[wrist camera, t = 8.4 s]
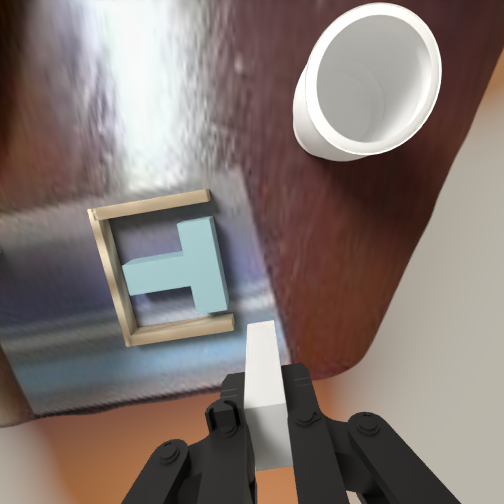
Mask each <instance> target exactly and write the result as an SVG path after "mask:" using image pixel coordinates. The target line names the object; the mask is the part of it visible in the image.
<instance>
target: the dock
mask: <svg viewBox="0 0 504 504" xmlns="http://www.w3.org/2000/svg"><path fill="white" fill-rule="evenodd" d="M208 201H211V198H210V193H209V189H203V190H198V191H192V192H186V193H180V194H175V195H169V196H163V197H157V198H152V199H146V200H140V201H134V202H129V203H123V204H117V205H111V206H106V207H100V208H94V209H88V210H87V211H88V214H89V218H90V221H91V225H92V228H93V232H94V235H95V239H96V242H97V246H98V249H99V253H100V256H101V260H102V263H103V267H104V270H105V274H106V277H107V281H108V284H109V288H110V291H111V295H112V298H113V302H114V305H115V309H116V312H117V316H118V319H119V323H120V326H121V330H122V333H123V337H124V340H125V344H126V347H130V346H136V345H143V344H149V343H156V342H162V341H169V340H175V339H182V338H188V337H195V336H201V335H208V334H215V333H221V332H228V331H234V325H235V320H234V315H233V313H228V314H221V315H215V316H209V317H202V318H196V319H189V320H183V321H177V322H170V323H164V324H157V325H151V326H144V327H137V323H136V320H135V316H134V312H133V309H132V305H131V301H130V298H129V294H128V290H127V287H126V283H125V279H124V276H123V272H122V268H121V265H120V261H119V257H118V254H117V250H116V246H115V243H114V239H113V235H112V232H111V228H110V225H109V221H108V219H109V218H115V217H120V216H126V215H132V214H138V213H144V212H149V211H155V210H161V209H167V208H173V207H178V206H184V205H190V204H196V203H202V202H208Z"/></svg>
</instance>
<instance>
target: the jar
mask: <svg viewBox="0 0 504 504" xmlns="http://www.w3.org/2000/svg"><path fill="white" fill-rule="evenodd" d="M440 83H441V58H440V53H439V49H438V46H437V43H436V40H435V38H434V36H433V34H432V32H431V31H430V29H429V28H428V26H427V25H426V24H425V23H424V22H423V21H422V20H421V19H420V18H419V17H418V16H417V15H416V14H414V13H413V12H411V11H410V10H408V9H406V8H404V7H401V6H398V5H395V4H390V3H371V4H366V5H362V6H359V7H356V8H354V9H352V10H350V11H348V12H346V13H345V14H343V15H341V16H340V17H339V18H337V19H336V20H335V21H334V22H333V23H332V24H331V25H330V26H329V27H328V28H327V29H326V30H325V31H324V33H323V34H322V35H321V37H320V38H319V40H318V41H317V43H316V45H315V47H314V48H313V50H312V53H311V55H310V57H309V60H308V63H307V65H306V67H305V69H304V71H303V73H302V75H301V77H300V79H299V82H298V84H297V87H296V91H295V95H294V102H293V117H294V119H293V127H294V133H295V136H296V139H297V141H298V142H299V144H300V145H301V147H302V148H303V149H304V150H305V151H307V152H308V153H310V154H312V155H314V156H317V157H322V158H325V159H328V160H333V161H351V160H356V159H360V158H363V157H366V156H368V155H373V154H379V153H383V152H386V151H389V150H391V149H394V148H396V147H397V146H399V145H401V144H403V143H404V142H405V141H407V140H408V139H409V138H411V137H412V136H413V135H414V134H415V133H416V132H417V131H418V130H419V129H420V128H421V126H422V125H423V124H424V122H425V121H426V120H427V118H428V116H429V115H430V113H431V111H432V109H433V107H434V105H435V102H436V99H437V96H438V93H439V89H440Z"/></svg>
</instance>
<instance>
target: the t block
mask: <svg viewBox="0 0 504 504" xmlns="http://www.w3.org/2000/svg"><path fill="white" fill-rule="evenodd" d="M177 227H178V231H179V236H180V240H181V245H182V249H183V251H180V252H174V253H168V254H162V255H156V256H150V257H144V258H138V259H133V260H131V261H129V262H128V263H126V264H124V265H123V266H122V268H123V272H124V276H125V279H126V283H127V287H128V290H129V294H130V296H131V295H137V294H143V293H150V292H156V291H162V290H168V289H174V288H181V287H187V286H191V289H192V294H193V298H194V302H195V307H196V311H197V315H198V314H205V313H211V312H217V311H224V310H227V309H228V305H229V295H228V290H227V285H226V280H225V275H224V270H223V265H222V259H221V254H220V249H219V244H218V239H217V234H216V229H215V224H214V219H213V216H209V217H204V218H198V219H192V220H186V221H182V222H180V223H178V224H177Z"/></svg>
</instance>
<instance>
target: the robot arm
mask: <svg viewBox="0 0 504 504" xmlns="http://www.w3.org/2000/svg"><path fill="white" fill-rule="evenodd" d="M205 416H206V421H207V425H208V429H209V435H208V436H207V437H206V438H204V439H203V440H201V441H199V442H197V443H194V444H192V445H190V446H187V444H186V443H185V442H184V441H183V440H180V439H173V440H169V441H167V442H165V443H163V444H161V445H160V446H159V447H157V449H156V450H155V451H154V452H153V453H152V455H151V457H150V458H149V460H148V461H147V463H146V464H145V466H144V468H143V470H142V471H141V473H140V474H139V476H138V477H137V479H136V481H135V482H134V484H133V486H132V487H131V489H130V490H129V492H128V493H127V495H126V497H125V498H124V500H123V501H122V503H121V504H257V483H256V478H255V467H256V471H260V470H268V469H276V468H283V467H291V466H293V467H294V475H295V482H296V489H297V496H298V504H350V503H349V499H348V496H347V493H346V490H347V491H352V492H356V494H357V497H358V498H359V500H360V502H361V503H362V504H461V503H460V502H459V501H458V500H457V499H456V498H455V496H454V495H453V494H452V493H451V492H450V491H449V490H448V489H447V488H446V486H445V485H444V484H443V483H442V482H441V481H440V480H439V479H438V478H437V477H436V476H435V474H433V472H432V471H431V470H430V469H429V468H428V467H427V466H426V465H425V463H424V462H423V461H422V460H421V459H420V458H419V457H418V456H417V455H416V454H415V453H414V451H413V450H412V449H411V448H410V447H409V446H408V445H407V444H406V443H405V442H404V441H403V439H402V438H401V437H400V436H399V435H398V434H397V433H396V432H395V431H394V430H393V429H392V427H391V426H390V425H389V424H388V423H387V422H386V421H385V420H384V419H383V418H381V417H380V416H379V415H376V414H373V413H369V412H360V413H356V414H355V415H353V416H351V417H350V419H349V420H348V422H341V421H336V420H332V419H330V418H328V417H326V416H325V415H324V414H323V413H322V412H321V410H320V408H319V405H318V402H317V399H316V395H315V391H314V388H313V385H312V381H311V378H310V374H309V371H308V368H307V367H305V366H304V365H303V364H302V363H297V364H290V365H283V366H281V361H280V355H279V349H278V343H277V337H276V331H275V325H274V320H273V321H266V322H260V323H253V324H248V326H247V348H246V370H245V372H241V373H234V374H228V375H227V376H226V378H225V379H224V381H223V382H222V388H221V395H220V399H219V400H217V401H215V402H213V403H212V404H211V405H210V406H209V407H208V408H207V410H206V412H205Z"/></svg>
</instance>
